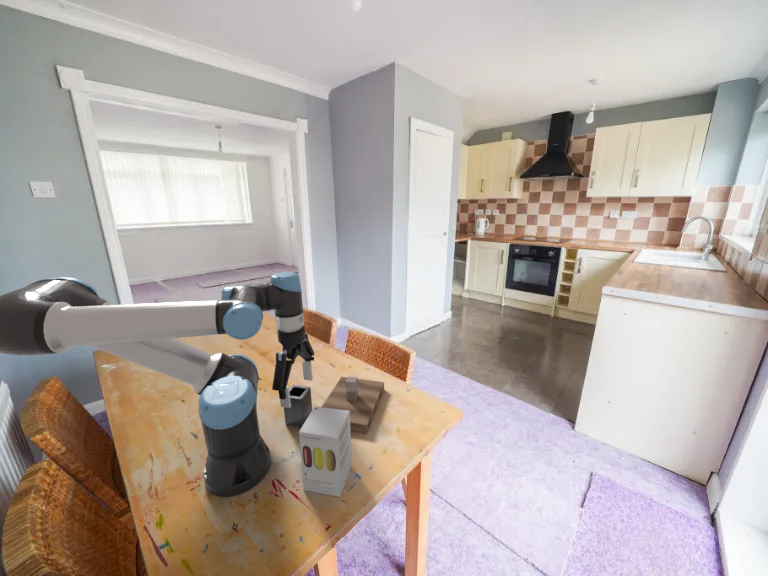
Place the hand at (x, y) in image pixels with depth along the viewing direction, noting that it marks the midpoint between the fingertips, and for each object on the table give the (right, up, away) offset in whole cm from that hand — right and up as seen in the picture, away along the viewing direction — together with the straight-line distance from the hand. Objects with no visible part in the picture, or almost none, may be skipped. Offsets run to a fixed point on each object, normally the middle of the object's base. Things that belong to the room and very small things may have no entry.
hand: (297, 392), depth 92 cm
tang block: (+16, -7, +9) cm, 19 cm away
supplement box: (+12, -15, -17) cm, 26 cm away
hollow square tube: (0, -9, +3) cm, 10 cm away
